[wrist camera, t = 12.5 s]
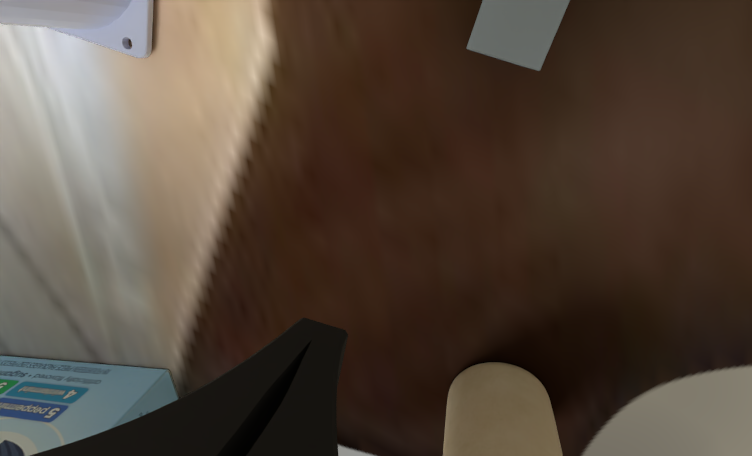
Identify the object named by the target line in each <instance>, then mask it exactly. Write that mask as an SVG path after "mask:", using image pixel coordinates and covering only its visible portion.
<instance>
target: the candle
mask: <svg viewBox="0 0 752 456" xmlns="http://www.w3.org/2000/svg"><path fill="white" fill-rule="evenodd" d="M443 456H563V455H562V450H561V446H560V441H559V437H558V432H557V428H556V423H555V419H554V414H553V410H552V406H551V402H550V398H549V396H548V394H547V391H546V389H545V388H544V386H543V384H542V383H541V382H540V381H539V380H538V379H537V378H536V377H535V376H534V375H533V374H531V373H530V372H528V371H526V370H524V369H523V368H520V367H518V366H515V365H511V364H507V363H501V362H487V363H481V364H477V365H474V366H471V367H469V368H467V369H465V370H464V371H462V372H461V373H460V374H459V375H458V376H457V377H456V378H455V379H454V381H453V383H452V384H451V387H450V390H449V393H448V401H447V411H446V423H445V436H444V449H443Z"/></svg>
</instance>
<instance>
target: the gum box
mask: <svg viewBox="0 0 752 456" xmlns="http://www.w3.org/2000/svg"><path fill="white" fill-rule="evenodd" d="M178 399H179V396H178V393H177V390H176V387H175V384H174V381H173V378H172V375H171V372H170V370H168V369H154V368H143V367H132V366H118V365H106V364H95V363H83V362H71V361H59V360H48V359H35V358H24V357H12V356H0V456H30V455H33V454H37V453H40V452H43V451H46V450H50V449H53V448H56V447H59V446H63V445H66V444H69V443H72V442H75V441H78V440H81V439H84V438H87V437H90V436H92V435H95V434H98V433H101V432H103V431H106V430H108V429H111V428H114V427H116V426H119V425H121V424H124V423H127V422H129V421H132V420H134V419H136V418H139V417H141V416H143V415H146V414H148V413H150V412H152V411H154V410H157V409H159V408H161V407H163V406H165V405H167V404H169V403H171V402H173V401H176V400H178Z"/></svg>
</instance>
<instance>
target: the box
mask: <svg viewBox="0 0 752 456" xmlns="http://www.w3.org/2000/svg"><path fill="white" fill-rule="evenodd" d="M569 1H570V0H483V2H482V4H481V7H480V10H479V13H478V16H477V19H476V22H475V25H474V28H473V31H472V33H471V36H470V39H469V42H468V45H467V49H468V50H471V51H474V52H478V53H481V54H484V55H487V56H491V57H494V58H497V59H500V60H503V61H507V62H510V63H513V64H516V65H520V66H523V67H526V68H530V69H534V70H538V71H540V69H541V67H542V65H543V62H544V60H545V58H546V55H547V53H548V51H549V48H550V46H551V43H552V41H553V39H554V36H555V34H556V32H557V29H558V27H559V25H560V22H561V20H562V18H563V15H564V13H565V11H566V8H567V6H568V4H569Z"/></svg>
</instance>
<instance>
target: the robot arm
mask: <svg viewBox="0 0 752 456" xmlns="http://www.w3.org/2000/svg"><path fill="white" fill-rule="evenodd" d="M0 24H4V25H20V26H36V27H47V28H50V29H53V30H56V31H59V32H62V33H65V34H68V35H71V36H74V37H77V38H80V39H83V40H86V41H89V42H92V43H95V44H98V45H101V46H104V47H107V48H110V49H113V50H116V51H119V52H122V53H125V54H128V55H131V56H133V57H136V58H147V57H149V55H150V54H151V50H152V26H153V0H0ZM129 39H130V40H131V42H132V48H131V47H130V46H129V43H128V41H129ZM347 337H348V334H347V332H346V331H345V330H343V329H340V328H336V327H333V326H330V325H326V324H323V323H320V322H316V321H313V320H310V319H307V318H302V319H300V320H298V321H297V322H296V323H295V324H294V325H292V326H291V327H290V328H289V329H287V330H286V331H285V332H283V333H282V334H281V335H280V336H278V337H277V338H276V339H274V340H273V341H272V342H270V343H269V344H268V345H266V346H265V347H263V348H262V349H261V350H259V351H258V352H256V353H255V354H253V355H252V356H251V357H249V358H248V359H246V360H245V361H243V362H242V363H240V364H239V365H237V366H235V367H234V368H232V369H231V370H229V371H227V372H226V373H224V374H223V375H221V376H220V377H218V378H216V379H215V380H213V381H211V382H209V383H208V384H206V385H204V386H202V387H200V388H199V389H197V390H195V391H193V392H191V393H189V394H187V395H185V396H184V397H182V398H180V399H178V400H176V401H173V402H171V403H169V404H167V405H165V406H163V407H161V408H159V409H157V410H154V411H152V412H150V413H148V414H146V415H143V416H141V417H139V418H136V419H134V420H132V421H129V422H127V423H124V424H121V425H119V426H116V427H114V428H111V429H108V430H106V431H103V432H101V433H98V434H95V435H92V436H90V437H87V438H84V439H81V440H78V441H75V442H72V443H69V444H66V445H63V446H59V447H56V448H53V449H50V450H46V451H43V452H40V453H37V454H33V455H30V456H338V446H337V427H336V396H337V385H338V381H339V376H340V371H341V366H342V361H343V356H344V352H345V347H346V342H347Z"/></svg>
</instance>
